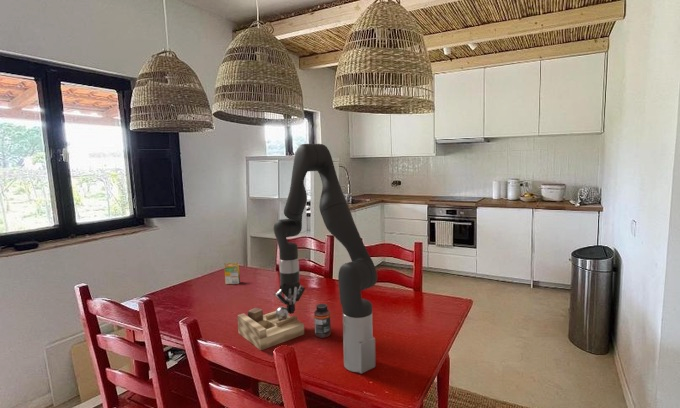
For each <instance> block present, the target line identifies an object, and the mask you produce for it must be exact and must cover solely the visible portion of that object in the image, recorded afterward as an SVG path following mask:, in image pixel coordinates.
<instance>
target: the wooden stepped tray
mask: <svg viewBox="0 0 680 408" xmlns="http://www.w3.org/2000/svg"><path fill="white" fill-rule="evenodd" d="M275 312H276V310H275V311H272V312H269V313H265V314H263V320H262V321H260V322H256V321H254V320H253V319H251V318H250V317H248V314H246V313H240V314H238V315H237V329H238V331H237V332H238V334H239V335H240V336H242V337H243V338H244V339H246V340H247V341H248V342H249V343H250V344H252V345H253V346H255V348H257V349H258V350H259V351H263V350H266V349H268V348H272V347H274V346H276V345H279V344H282V343H284V342H287V341H290V340H293V339H295V338H297V337H300V336H303V335H305V324H304V323H303V322H301V321H299V320H298V316H297V315H294V316H290V314H288V316H287V318H286V319H284V320H279V319H277V318H276V316H275Z"/></svg>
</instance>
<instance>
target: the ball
mask: <svg viewBox="0 0 680 408" xmlns="http://www.w3.org/2000/svg"><path fill="white" fill-rule="evenodd" d="M275 311H276V312H275ZM275 311H274V312H275V316H276V318H277V319H279V320H284V319H286V318H287V316H288V315H289V313H288V310H287V307H285V306H279V307H278V308H277V309H276V310H275Z"/></svg>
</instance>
